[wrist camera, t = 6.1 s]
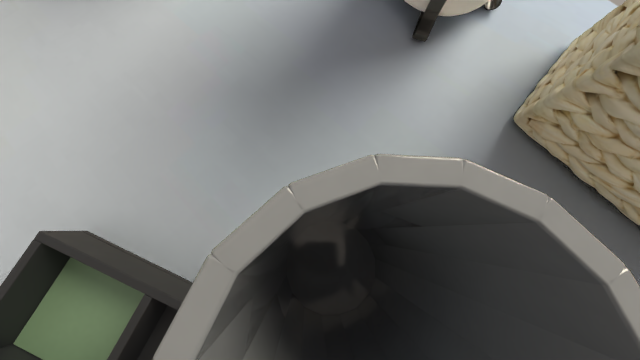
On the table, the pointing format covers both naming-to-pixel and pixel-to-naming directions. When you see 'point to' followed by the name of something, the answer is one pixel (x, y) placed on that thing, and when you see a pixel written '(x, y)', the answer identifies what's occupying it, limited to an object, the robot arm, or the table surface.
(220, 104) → the table surface
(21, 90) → the table surface
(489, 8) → the coffee press
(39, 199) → the table surface
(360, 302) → the tumbler
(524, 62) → the table surface
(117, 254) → the divided tray
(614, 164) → the basket
